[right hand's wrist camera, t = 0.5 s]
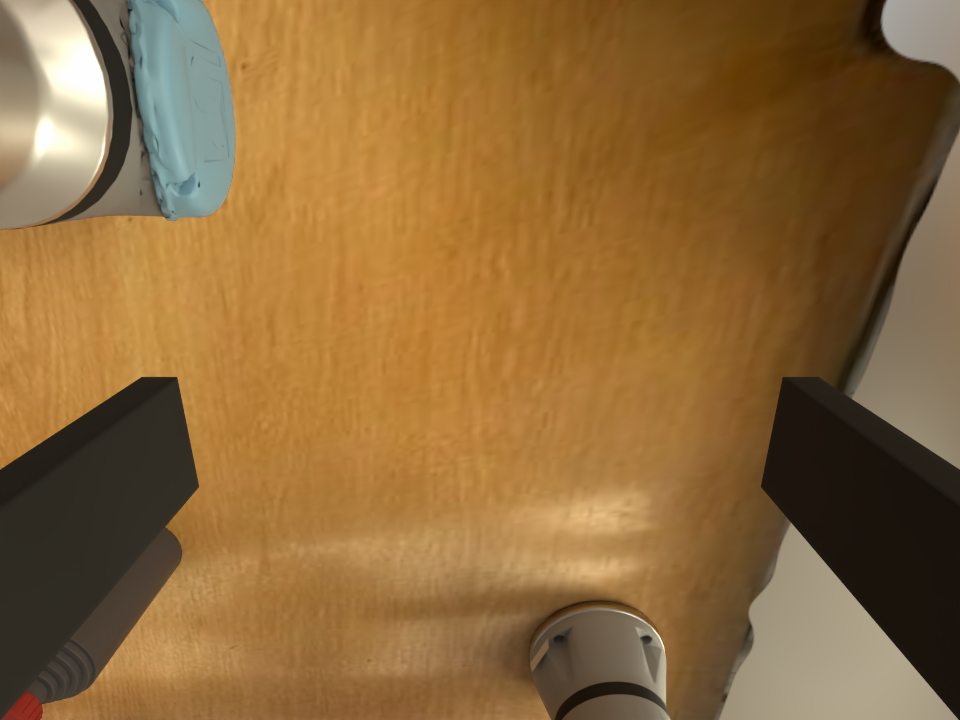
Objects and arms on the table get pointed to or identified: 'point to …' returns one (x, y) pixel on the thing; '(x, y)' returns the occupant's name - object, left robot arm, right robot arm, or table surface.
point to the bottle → (108, 623)
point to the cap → (25, 709)
